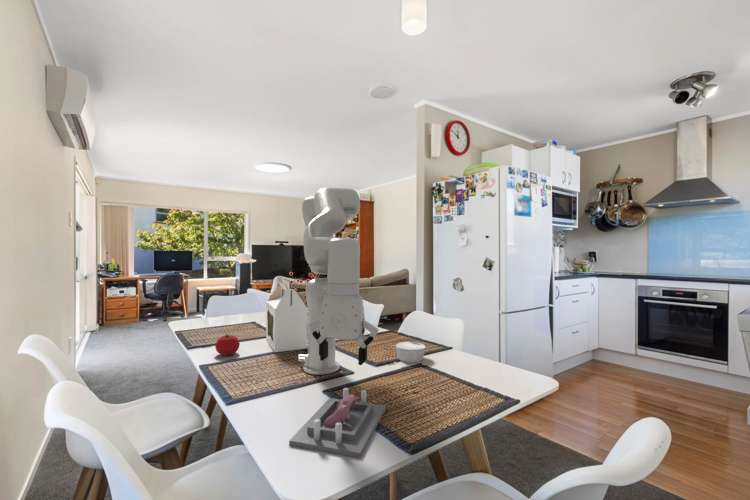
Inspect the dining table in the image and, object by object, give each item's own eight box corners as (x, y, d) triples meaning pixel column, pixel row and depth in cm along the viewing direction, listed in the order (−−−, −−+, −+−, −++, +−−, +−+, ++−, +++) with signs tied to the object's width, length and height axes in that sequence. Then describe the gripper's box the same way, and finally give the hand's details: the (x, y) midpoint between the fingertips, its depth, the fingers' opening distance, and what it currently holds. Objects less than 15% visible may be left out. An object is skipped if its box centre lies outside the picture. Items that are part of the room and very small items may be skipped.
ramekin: (430, 357, 135) (430, 344, 135) (417, 366, 126) (417, 351, 126) (404, 352, 141) (404, 340, 141) (390, 360, 132) (390, 346, 132)
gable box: (266, 339, 160) (266, 278, 159) (295, 336, 165) (295, 277, 165) (274, 352, 140) (275, 283, 139) (307, 348, 145) (307, 281, 145)
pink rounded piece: (338, 438, 78) (351, 412, 78) (321, 427, 79) (334, 401, 79) (351, 417, 88) (363, 394, 87) (336, 407, 89) (348, 384, 88)
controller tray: (289, 445, 75) (289, 421, 75) (329, 401, 96) (329, 383, 96) (359, 457, 70) (360, 433, 70) (386, 409, 92) (386, 390, 92)
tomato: (210, 356, 134) (210, 336, 134) (224, 350, 142) (225, 330, 142) (230, 358, 132) (230, 337, 132) (244, 351, 140) (244, 332, 140)
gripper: (303, 290, 82) (302, 362, 82) (374, 294, 77) (373, 370, 78) (317, 286, 89) (316, 352, 89) (382, 289, 84) (381, 359, 85)
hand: (342, 360), depth 83 cm, fingers open, 9 cm apart
